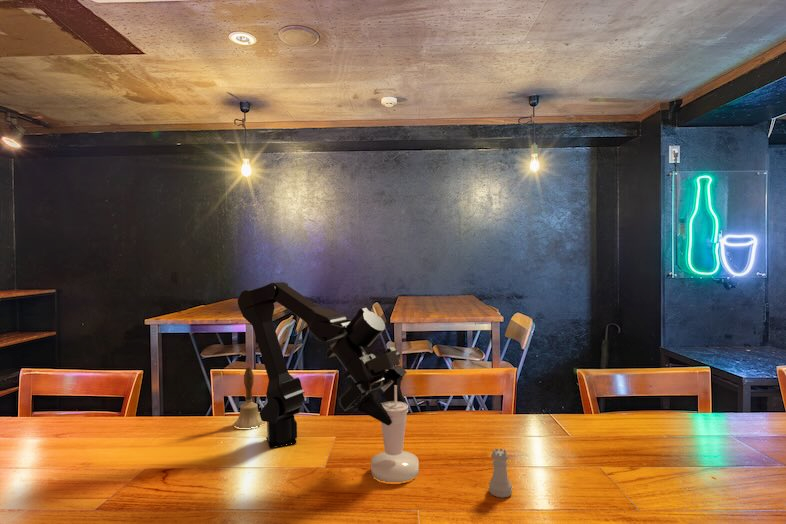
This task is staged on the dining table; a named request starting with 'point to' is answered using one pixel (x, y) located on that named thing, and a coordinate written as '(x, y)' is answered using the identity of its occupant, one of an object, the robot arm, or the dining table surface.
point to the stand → (394, 467)
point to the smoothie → (394, 425)
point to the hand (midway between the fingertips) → (398, 419)
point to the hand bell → (248, 405)
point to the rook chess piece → (500, 475)
